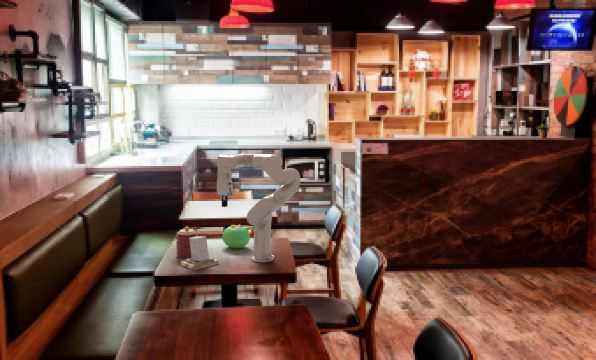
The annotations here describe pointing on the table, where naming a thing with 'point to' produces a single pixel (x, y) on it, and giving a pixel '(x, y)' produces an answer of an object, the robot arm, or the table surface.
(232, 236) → the green rounded piece
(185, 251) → the canister
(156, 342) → the table surface
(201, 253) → the small box
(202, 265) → the maple base
